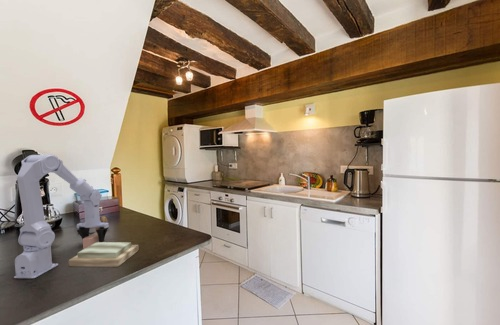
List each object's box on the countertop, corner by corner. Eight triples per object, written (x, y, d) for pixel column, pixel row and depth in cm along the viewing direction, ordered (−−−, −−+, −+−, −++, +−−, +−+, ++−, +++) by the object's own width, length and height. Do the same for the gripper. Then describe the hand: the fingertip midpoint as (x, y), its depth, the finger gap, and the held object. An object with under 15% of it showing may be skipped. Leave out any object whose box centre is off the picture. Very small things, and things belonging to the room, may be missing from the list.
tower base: (118, 266, 84) (117, 255, 84) (68, 266, 85) (68, 255, 85) (138, 250, 98) (138, 240, 98) (96, 250, 99) (95, 240, 99)
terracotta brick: (91, 249, 101) (90, 238, 100) (83, 249, 101) (82, 238, 101) (104, 242, 108) (103, 232, 108) (96, 242, 109) (96, 232, 109)
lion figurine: (109, 230, 125) (108, 214, 125) (105, 233, 120) (105, 217, 120) (79, 233, 121) (78, 217, 121) (74, 237, 116) (73, 220, 116)
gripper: (112, 212, 107) (114, 239, 108) (84, 212, 108) (86, 239, 109) (102, 216, 100) (103, 245, 101) (72, 216, 101) (74, 245, 102)
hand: (93, 242), depth 105 cm, fingers open, 7 cm apart
